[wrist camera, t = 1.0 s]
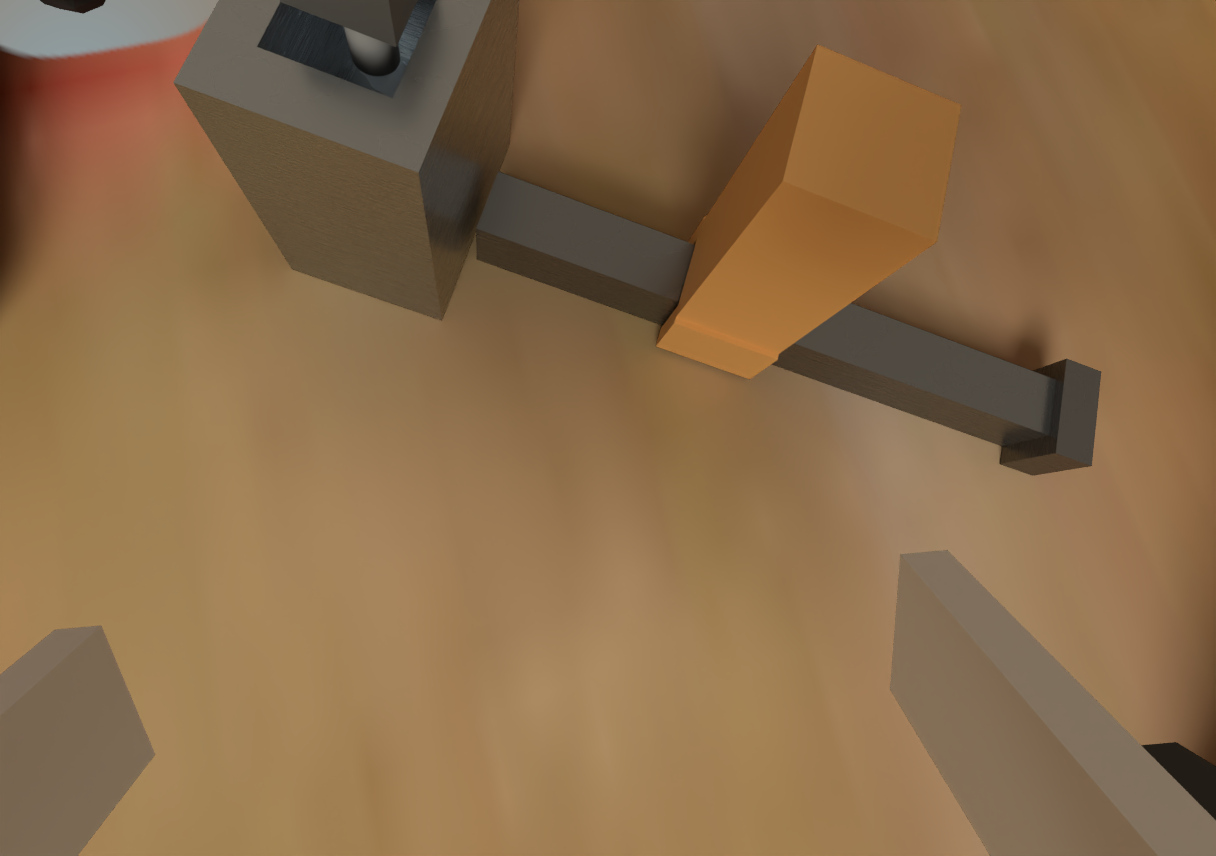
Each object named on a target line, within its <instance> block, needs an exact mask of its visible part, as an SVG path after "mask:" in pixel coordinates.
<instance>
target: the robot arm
mask: <svg viewBox="0 0 1216 856" xmlns="http://www.w3.org/2000/svg"><path fill="white" fill-rule="evenodd" d="M890 690H891V692H892V694H893V695H894V697H895V699H896V700H897V702H898V704H899V705H900V707H901V709H902V710H903V712H904V714H905V715H906V717H907V719H908V720H909V722H910V724H911V725H912V727H913V729H914V730H915V732H916V734H917V735H918V737H919V738H920V740H921V742H922V743H923V745H924V747H925V748H926V750H927V752H928V753H929V755H930V757H931V758H932V760H933V762H934V763H935V765H936V767H937V768H938V770H939V772H940V773H941V775H942V777H943V778H944V780H945V782H946V783H947V785H948V787H949V788H950V790H951V792H952V793H953V795H954V797H955V798H956V800H957V802H958V803H959V805H960V807H961V808H962V810H963V812H964V813H965V815H966V817H967V818H968V820H969V821H970V823H971V825H972V826H973V828H974V830H975V831H976V833H977V835H978V836H979V838H980V840H981V841H982V843H983V845H984V846H985V848H986V850H987V851H988V853H989V855H990V856H1216V766H1214V765H1213V764H1211V763H1209V762H1208V761H1206V760H1204V759H1203V758H1201V757H1199V756H1198V755H1196V754H1194V753H1193V752H1191V751H1190V750H1188V749H1186V748H1185V747H1183V746H1181V745H1180V744H1178V743H1176V742H1174V743H1163V744H1152V745H1140V744H1139V743H1138V742H1137V741H1136V740H1135V739H1134V738H1133V737H1132V736H1131V735H1130V734H1129V733H1128V732H1127V731H1126V730H1125V729H1124V728H1123V727H1122V726H1121V725H1120V724H1119V723H1118V722H1117V721H1116V720H1115V719H1114V718H1113V717H1112V715H1111V714H1110V713H1109V712H1108V711H1107V710H1106V709H1105V708H1104V707H1103V706H1102V705H1101V704H1100V703H1099V702H1098V701H1097V700H1096V699H1095V698H1094V697H1093V696H1092V695H1091V694H1090V693H1089V692H1088V691H1087V690H1086V689H1085V688H1084V687H1083V686H1082V685H1081V684H1080V683H1079V682H1078V681H1077V680H1076V679H1075V678H1074V677H1073V676H1072V675H1071V674H1070V673H1069V672H1068V671H1067V670H1066V669H1065V668H1064V667H1063V666H1062V665H1061V664H1060V663H1059V662H1058V661H1057V660H1056V659H1055V658H1054V657H1053V656H1052V655H1051V654H1050V653H1049V652H1048V651H1047V650H1046V649H1045V648H1044V647H1043V646H1042V645H1041V644H1040V643H1039V642H1038V641H1037V640H1036V639H1035V638H1034V637H1033V636H1032V635H1031V634H1030V633H1029V632H1028V631H1027V630H1026V629H1025V628H1024V627H1023V626H1022V625H1021V624H1020V623H1019V622H1018V621H1017V620H1016V619H1015V618H1014V617H1013V616H1012V615H1011V614H1010V613H1009V612H1008V611H1007V610H1006V609H1005V608H1004V607H1003V606H1002V605H1001V604H1000V603H999V602H998V601H997V600H996V599H995V598H994V597H993V596H992V595H991V594H990V593H989V592H988V591H987V590H986V589H985V588H984V587H983V586H982V585H981V584H980V583H979V582H978V581H977V580H976V579H975V578H974V577H973V576H972V575H971V574H970V573H969V572H968V571H967V570H966V569H965V568H964V567H963V566H962V565H961V564H960V563H959V562H958V561H957V560H956V559H955V558H954V557H953V556H952V554H951V553H950V552H949V551H948V550H943V551H932V552H921V553H910V554H900V565H899V578H898V591H897V604H896V617H895V630H894V643H893V656H892V669H891V682H890ZM154 755H155V753H154V750H153V748H152V746H151V743H150V741H149V738H148V736H147V734H146V731H145V729H144V726H143V724H142V722H141V719H140V717H139V715H138V712H137V710H136V707H135V705H134V703H133V700H132V698H131V695H130V693H129V691H128V688H127V686H126V684H125V681H124V679H123V676H122V674H121V672H120V669H119V667H118V664H117V662H116V660H115V657H114V655H113V653H112V650H111V648H110V645H109V643H108V641H107V638H106V636H105V634H104V631H103V629H102V626H91V627H80V628H69V629H58V630H54V631H53V632H51V633H50V634H49V635H48V636H47V637H45V638H44V639H43V640H42V641H41V642H39V643H38V644H37V645H36V646H34V647H33V648H32V649H31V650H30V651H28V652H27V653H26V654H25V655H24V656H22V657H21V658H20V659H19V660H17V661H16V662H15V663H14V664H13V665H11V666H10V667H9V668H8V669H7V670H5V671H4V672H3V673H2V674H0V856H78V855H79V853H80V852H81V851H82V849H83V848H84V847H85V845H86V844H87V843H88V841H89V840H90V839H91V838H92V836H93V835H94V834H95V832H96V831H97V830H98V828H99V827H100V826H101V825H102V823H103V822H104V821H105V819H106V818H107V817H108V815H109V814H110V813H111V812H112V810H113V809H114V808H115V806H116V805H117V804H118V802H119V801H120V800H121V798H122V797H123V796H124V795H125V793H126V792H127V791H128V789H129V788H130V787H131V785H132V784H133V783H134V782H135V780H136V779H137V778H138V776H139V775H140V774H141V772H142V771H143V770H144V768H145V767H146V766H147V765H148V763H149V762H150V761H151V759H152V758H153V757H154Z"/></svg>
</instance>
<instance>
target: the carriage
mask: <svg viewBox="0 0 1216 856" xmlns="http://www.w3.org/2000/svg"><path fill="white" fill-rule="evenodd" d="M960 111H961V105H960V104H958V103H955V102H953V101H951V100H948V99H946V98H943V97H941V96H939V95H936V94H934V93H932V92H929V91H927V90H925V89H922V88H920V87H917V86H915V85H913V84H910V83H908V82H906V81H903V80H901V79H898V78H896V77H894V76H891V75H889V74H887V73H884V72H882V71H879V70H877V69H875V68H872V67H870V66H868V65H865V64H863V63H860V62H858V61H856V60H853V59H851V58H849V57H846V56H844V55H842V54H839V53H837V52H834V51H832V50H830V49H827V48H825V47H823V46H820V45H818V44H817V46H816V47H815V49H814V51H813V52H812V54H811V55H810V57H809V58H808V60H807V61H806V63H805V64H804V66H803V68H802V69H801V71H800V72H799V74H798V75H797V77H796V78H795V80H794V81H793V83H792V85H791V86H790V88H789V89H788V91H787V92H786V94H785V95H784V97H783V99H782V100H781V102H780V103H779V105H778V106H777V108H776V109H775V111H774V112H773V114H772V116H771V117H770V119H769V120H768V122H767V123H766V125H765V126H764V128H763V129H762V131H761V133H760V134H759V136H758V137H757V139H756V140H755V142H754V143H753V145H752V147H751V148H750V150H749V151H748V153H747V154H746V156H745V157H744V159H743V160H742V162H741V164H740V165H739V167H738V168H737V170H736V171H735V173H734V174H733V176H732V177H731V179H730V181H729V182H728V184H727V185H726V187H725V188H724V190H723V191H722V193H721V194H720V196H719V198H718V199H717V201H716V202H715V204H714V205H713V207H712V208H711V210H710V212H709V213H708V215H707V216H704V218H703V219H702V221H701V222H700V224H699V226H698V227H697V229H696V230H695V232H694V233H693V235H692V236H691V238H690V240H689V241H688V243H691V244H694V245H695V248H694V251H693V255H692V258H691V262H690V265H689V269H688V272H687V276H686V279H685V283H684V286H683V290H682V293H681V297H680V300H679V304H678V306H677V308H676V309H675V310H674V312H673V313H672V314H671V316H670V317H669V318H668V320H667V321H666V322H665V323H664V325H663V326H662V327H661V330H660V333H659V337H658V340H657V344H656V347H659V348H662V349H665V350H668V351H671V352H673V353H676V354H679V355H682V356H685V357H688V358H690V359H693V360H696V361H699V362H702V363H705V364H708V365H710V366H713V367H716V368H719V369H722V370H725V371H727V372H730V373H733V374H736V375H739V376H742V377H745V378H747V379H751V378H752V377H754V376H755V375H756V374H758V373H759V372H761V371H762V370H764V369H765V368H767V367H768V366H769V365H771V364H772V363H774V362H775V361H777V360H778V356H779V354H780V353H781V352H782V351H784V350H785V349H787V348H788V347H789V346H791V345H792V344H794V343H795V342H796V341H798V340H799V339H801V338H802V337H803V336H805V335H806V334H808V333H809V332H811V331H812V330H813V329H815V328H816V327H818V326H819V325H820V324H822V323H823V322H825V321H826V320H827V319H829V318H830V317H832V316H833V315H834V314H836V313H837V312H839V311H840V310H841V309H843V308H844V307H846V306H847V305H849V304H850V303H851V302H853V301H854V300H856V299H857V298H858V297H860V296H861V295H863V294H864V293H865V292H867V291H868V290H870V289H871V288H872V287H874V286H875V285H877V284H878V283H880V282H881V281H882V280H884V279H885V278H887V277H888V276H889V275H891V274H892V273H894V272H895V271H896V270H898V269H899V268H901V267H902V266H903V265H905V264H906V263H908V262H909V261H911V260H912V259H913V258H915V257H916V256H918V255H919V254H920V253H922V252H923V251H925V250H926V249H927V248H929V247H930V246H932V245H933V244H934V243H936V242H937V239H938V234H939V228H940V223H941V217H942V211H943V206H944V200H945V195H946V189H947V184H948V178H949V172H950V167H951V161H952V156H953V150H954V144H955V139H956V133H957V128H958V122H959V117H960Z"/></svg>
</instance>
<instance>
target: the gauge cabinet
mask: <svg viewBox="0 0 1216 856" xmlns="http://www.w3.org/2000/svg"><path fill="white" fill-rule="evenodd" d="M518 10H519V0H418V1H417V3H416V5H415V7H414V9H413V12H412V14H411V16H410V18H409V20H408V23H407V25H406V27H405V29H404V31H403V33H402V36H401V38H400V40H399V42H398V43H399V50H400V57H401V59H400V64H399V66H398V67H397V69H396V70H395V71H394V72H392V73H391V74H388V75H385V76H371V75H368V74H365V73H363V72H362V71H360V70H359V69H358V68H357V67H356V66H355V64H354V63H353V60H352V57H351V53H350V49H349V45H348V41H347V37H346V33H345V29H344V27H343V26H341V25H338V24H336V23H333V22H330V21H328V20H325V19H323V18H320V17H318V16H315V15H312V14H310V13H307V12H305V11H302V10H300V9H297V8H294V7H292V6H289V5H287V4H284V3H282V2H280V0H219V1H218V3H217V5H216V7H215V8H214V10H213V12H212V14H211V15H210V17H209V19H208V21H207V23H206V25H205V26H204V28H203V30H202V32H201V34H200V35H199V37H198V39H197V41H196V43H195V44H194V46H193V48H192V50H191V52H190V53H189V55H188V57H187V59H186V61H185V62H184V64H183V66H182V68H181V70H180V71H179V73H178V75H177V77H176V79H175V80H174V82H173V83H174V84H175V86H176V87H177V89H178V90H179V92H180V94H181V95H182V97H183V98H184V100H185V101H186V103H187V105H188V106H189V108H190V109H191V111H192V112H193V114H194V116H195V117H196V119H197V120H198V122H199V123H200V125H201V127H202V128H203V130H204V131H205V133H206V135H207V136H208V138H209V139H210V141H211V142H212V144H213V146H214V147H215V149H216V150H217V152H218V153H219V155H220V157H221V158H222V160H223V161H224V163H225V164H226V166H227V168H228V169H229V171H230V172H231V174H232V175H233V177H234V179H235V180H236V182H237V183H238V185H239V186H240V188H241V190H242V191H243V193H244V194H245V196H246V197H247V199H248V201H249V202H250V204H251V205H252V207H253V208H254V210H255V212H256V213H257V215H258V216H259V218H260V219H261V221H262V223H263V224H264V226H265V227H266V229H267V230H268V232H269V234H270V235H271V237H272V238H273V240H274V241H275V243H276V245H277V246H278V248H279V249H280V251H281V252H282V254H283V256H284V257H285V259H286V260H287V262H288V263H289V265H290V267H291V268H292V269H293V270H296V271H299V272H302V273H305V274H308V275H311V276H314V277H317V278H319V279H322V280H325V281H328V282H331V283H334V284H337V285H340V286H343V287H346V288H349V289H352V290H355V291H357V292H360V293H363V294H366V295H369V296H372V297H375V298H378V299H381V300H384V301H387V302H390V303H392V304H395V305H398V306H401V307H404V308H407V309H410V310H413V311H416V312H419V313H422V314H425V315H428V316H430V317H433V318H436V319H439V320H442V319H443V316H444V313H445V311H446V308H447V306H448V303H449V300H450V298H451V295H452V293H453V290H454V287H455V285H456V282H457V280H458V277H459V274H460V272H461V269H462V267H463V264H464V261H465V259H466V256H467V254H468V251H469V248H470V246H471V243H472V241H473V238H474V235H475V233H476V228H477V225H478V223H479V220H480V218H481V215H482V212H483V210H484V207H485V205H486V202H487V199H488V197H489V194H490V192H491V189H492V186H493V184H494V181H495V179H496V176H497V173H498V172H499V170H500V168H501V165H502V162H503V160H504V157H505V155H506V152H507V149H508V147H509V142H510V128H511V113H512V98H513V83H514V69H515V54H516V39H517V25H518Z"/></svg>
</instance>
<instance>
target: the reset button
mask: <svg viewBox="0 0 1216 856" xmlns="http://www.w3.org/2000/svg"><path fill="white" fill-rule="evenodd" d="M417 1H418V0H280V2H282V3H284V4H287V5H289V6H292V7H294V8H297V9H300V10H302V11H305V12H307V13H310V14H312V15H315V16H318V17H320V18H323V19H325V20H328V21H330V22H333V23H336V24H338V25H341V26H343V27H344V29H345V33H346V37H347V41H348V45H349V49H350V53H351V57H352V60H353V63H354V64H355V66H356V67H357V68H358V69H359V70H360V71H362V72H363V73H365V74H368V75H371V76H385V75H388V74H391V73H392V72H394V71H395V70H396V69H397V67H398V66H399V64H400V59H401V57H400V50H399V43H398V42H399V40H400V38H401V36H402V33H403V31H404V29H405V27H406V25H407V23H408V20H409V18H410V16H411V14H412V12H413V9H414V7H415V5H416V3H417Z"/></svg>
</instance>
